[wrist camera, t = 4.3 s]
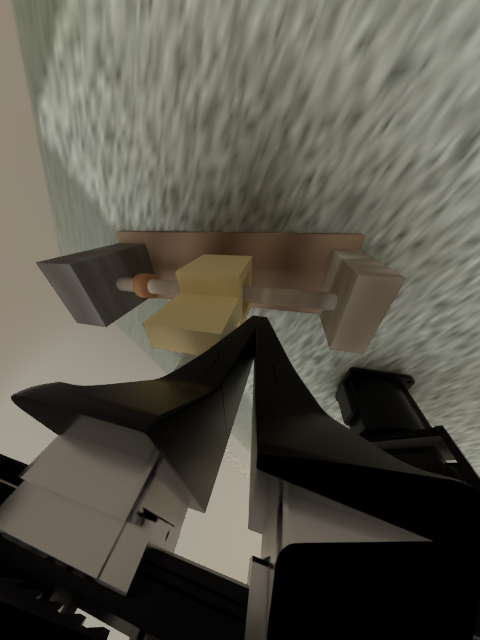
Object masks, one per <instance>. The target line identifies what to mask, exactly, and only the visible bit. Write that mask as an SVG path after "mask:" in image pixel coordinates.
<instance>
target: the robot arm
mask: <svg viewBox="0 0 480 640" xmlns="http://www.w3.org/2000/svg"><path fill="white" fill-rule="evenodd" d="M253 360H254V381H253V410H252V438H251V467H250V497H249V524H248V529H250V530H252V531H255V532H258V533H260V534H262V547H261V559H260V558H257V557H255V556H252V557H251V558H250V563H249V572H248V583H247V584H244V583H242V582H240V581H237V580H235V579H233V578H230V577H228V576H226V575H223V574H221V573H218V572H216V571H214V570H211V569H209V568H207V567H205V566H202V565H200V564H197V563H195V562H193V561H191V560H188V559H186V558H183V557H181V556H178V555H177V554H174V550H175V547H176V544H177V540H178V538H179V534H180V530H181V527H182V524H183V521H184V518H185V515H186V512H187V509H188V507H189V508H191V509H194V510H197V511H200V512H202V513H205V511H206V508H207V505H208V502H209V499H210V496H211V493H212V489H213V486H214V483H215V480H216V477H217V474H218V471H219V467H220V464H221V461H222V458H223V455H224V452H225V449H226V446H227V442H228V439H229V436H230V433H231V430H232V426H233V423H234V420H235V417H236V414H237V411H238V408H239V404H240V401H241V398H242V395H243V392H244V389H245V386H246V382H247V379H248V376H249V373H250V370H251V367H252V364H253ZM414 383H415V380H414V379H413V378H412V377H410V376H404V375H398V374H391V373H384V372H378V371H371V370H365V369H358V368H351V369H350V370H349V371H348V373H347V375H346V377H345V379H344V381H342V383H341V385H340V387H339V388H338V390H337V392H336V396H335V397H336V400H337V401H338V402H339V406H340V409H341V413H342V417H343V421H344V423H345V424H346V425H348V426H349V427H350V429H348V428H347V427H345V426H344V425H342V424H340V423H339V422H337V421H336V420H334V419H333V418H331V417H330V416H329V415H328V414H327V413H326V412H325V411H324V410H323V409H322V408H321V407H320V405H319V404H318V403H317V401H316V400H315V398H314V397H313V395H312V394H311V393H310V391H309V390H308V388H307V387H306V386H305V384H304V383H303V381H302V380H301V378H300V377H299V375H298V374H297V372H296V371H295V369H294V368H293V366H292V364H291V362H290V361H289V359H288V357H287V356H286V353H285V351H284V349H283V347H282V345H281V343H280V341H279V339H278V337H277V335H276V334H275V332H274V330H273V328H272V326H271V324H270V322H269V320H268V318H267V317H259V316H252V317H250V318H249V319H248V320H246V321H245V322H244V323H242V324H241V325H240V326H238V327H237V328H236V329H234V330H233V331H232V332H230V333H229V334H228V335H227V336H225V337H224V338H223V339H221V340H220V341H219V342H217V343H216V345H213V346H212V347H211V348H209V349H208V350H206V351H205V352H204V353H202V354H201V355H199V356H198V357H196V358H194V359H193V360H191V361H190V362H188V363H186V364H185V365H183V366H181V367H180V368H178V369H176V370H175V371H173V372H171V373H170V374H168V375H166V376H164V377H161V378H159V379H155V380H148V381H138V382H127V383H117V384H107V385H94V386H79V385H72V384H68V383H62V382H57V383H49V384H43V385H38V386H34V387H30V388H27V389H25V390H22V391H20V392H18V393H15V394H13V395H12V396H11V399H12V401H13V402H14V403H15V404H16V405H17V406H18V407H20V408H21V409H22V410H23V411H25V412H26V413H28V414H29V415H30V416H32V417H33V418H35V419H36V420H37V421H39V422H41V423H42V424H43V425H45V426H46V427H47V428H49V429H50V430H52V431H53V432H54V433H56V434H57V435H58V436H57V437H56V438H55V439H54V440H53V441H52V442H51V443H50V444H49V445H48V447H46V448H45V450H43V451H42V452H41V454H40V455H39V456H38V457H37V458H36V459H35V460H34V461H33V462H32V463H31V464H30V465H27V464H24V463H22V462H19V461H17V460H14V459H11V458H9V457H7V456H4V455H2V454H0V640H107V637H108V635H109V632H110V631H109V630H108V629H106V628H104V627H95V628H86V627H84V626H83V623H84V621H85V619H86V617H85V616H83V615H82V614H74V613H75V611H76V610H77V608H79V609H81V610H83V611H85V612H87V613H88V614H90V615H92V616H93V617H95V618H97V619H99V620H100V621H102V622H104V623H106V624H107V625H109V626H111V627H113V628H115V629H116V630H118V631H120V632H122V633H124V634H125V635H127V636H129V637H130V638H129V640H480V477H479V476H478V474H477V473H476V471H475V470H474V468H473V467H472V466H471V464H470V463H469V461H468V460H467V459H466V457H465V456H464V454H463V453H462V452H461V450H460V449H459V447H458V446H457V445H456V443H455V442H454V441H453V439H452V438H451V436H450V435H449V434H448V432H447V431H446V430H445V428H444V427H443V425H440V426H434V427H435V428H432V427H431V426H430V424H429V422H428V421H427V419H426V418H425V416H424V415H423V413H422V412H421V410H420V409H419V407H418V405H417V404H416V402H415V401H414V399H413V398H412V396H411V395H410V393H409V392H408V389H409V388H410V387H411V386H412V385H413V384H414ZM445 460H456V461H457V462H458V463H447V462H446V461H445Z"/></svg>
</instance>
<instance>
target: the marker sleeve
mask: <svg viewBox="0 0 480 640" xmlns="http://www.w3.org/2000/svg"><path fill="white" fill-rule="evenodd" d="M175 272H176V277H177V281H178V285H179V289H180V293H179V294H178V295H177V296H175V297H174V298H173V299H172V300H170V301H169V302H168V303H167V304H166V305H164V306H163V307H162V308H161V309H160V310H158V311H157V312H156V313H155V314H153V315H152V316H151V317H150V318H149V319H147V320H146V321H145V322H144V323H143V326H144V328H145V331H146V333H147V336H148V338H149V340H150V343H151V345H152V347H153V348H157V349H163V350H169V351H175V352H181V353H187V354H193V355H201V354H202V353H204V352H205V351H206V350H208V349H209V348H211V347H212V346H213V345H216V343H217V342H219V341H220V340H221V339H223V338H224V337H225V336H227V335H228V334H229V333H230V332H232V331H233V330H234V329H236V328H237V327H238V326H240V325H241V324H242V323H244V322H245V321H246V318H247V316H248V313H249V310H250V307H251V303H247V302H242V286H251V283H252V256H236V255H210V254H204V255H202V256H200V257H199V258H197V259H195V260H193V261H192V262H190V263H188V264H187V265H185V266H183V267H182V268H180V269H178V270H177V271H175Z"/></svg>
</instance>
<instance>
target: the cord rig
mask: <svg viewBox="0 0 480 640" xmlns="http://www.w3.org/2000/svg"><path fill="white" fill-rule="evenodd" d="M116 233H117V236H118V239H119V241H120V243H118V244H114V245H109V246H105V247H101V248H96V249H92V250H88V251H83V252H79V253H75V254H70V255H66V256H62V257H57V258H53V259H49V260H45V261H41V262H36V264H37V265H38V267H39V268H40V269H41V271H42V272H43V274H44V275H45V277H46V278H47V280H48V281H49V283H50V284H51V286H52V287H53V289H54V290H55V291H56V293H57V294H58V296H59V297H60V299H61V300H62V302H63V303H64V305H65V306H66V307H67V309H68V310H69V312H70V313H71V315H72V316H73V318H74V319H75V320H76V322H77V323H82V324H89V325H96V326H102V327H107V326H108V325H110V324H111V323H113V322H114V321H116V320H117V319H119V318H120V317H122V316H123V315H125V314H126V313H128V312H129V311H131V310H132V309H133V308H135V307H136V306H138V305H139V304H141V303H142V302H144V301H145V300H147V299H148V298H164V299H173V298H174V297H175V296H177V295H178V294H179V293H180V289H179V285H178V281H177V277H176V272H175V271H177V270H178V269H180V268H182V267H183V266H185V265H187V264H188V263H190V262H192V261H193V260H195V259H197V258H199V257H200V256H202V255H204V254H210V255H236V256H252V283H251V286H242V302H247V303H251V307H255V308H265V309H275V310H285V311H295V312H305V313H316V314H320V318H321V321H322V325H323V328H324V332H325V335H326V338H327V342H328V345H329V349H331V350H339V351H346V352H353V353H361V354H364V352H365V350H366V349H367V347H368V345H369V343H370V341H371V340H372V338H373V336H374V334H375V332H376V330H377V329H378V327H379V325H380V323H381V321H382V320H383V318H384V316H385V314H386V312H387V311H388V309H389V307H390V305H391V303H392V302H393V300H394V298H395V296H396V294H397V293H398V291H399V289H400V287H401V285H402V283H403V282H404V280H405V277H403V276H401V275H400V274H398V273H397V272H395V271H393V270H392V269H390V268H389V267H387V266H385V265H384V264H382V263H381V262H379V261H377V260H376V259H374V258H373V257H371V256H369V255H368V254H366V253H365V252H363V251H361V250H360V248H361V245H362V242H363V240H364V237H365V235H364V234H351V233H259V232H166V231H119V232H116Z"/></svg>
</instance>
